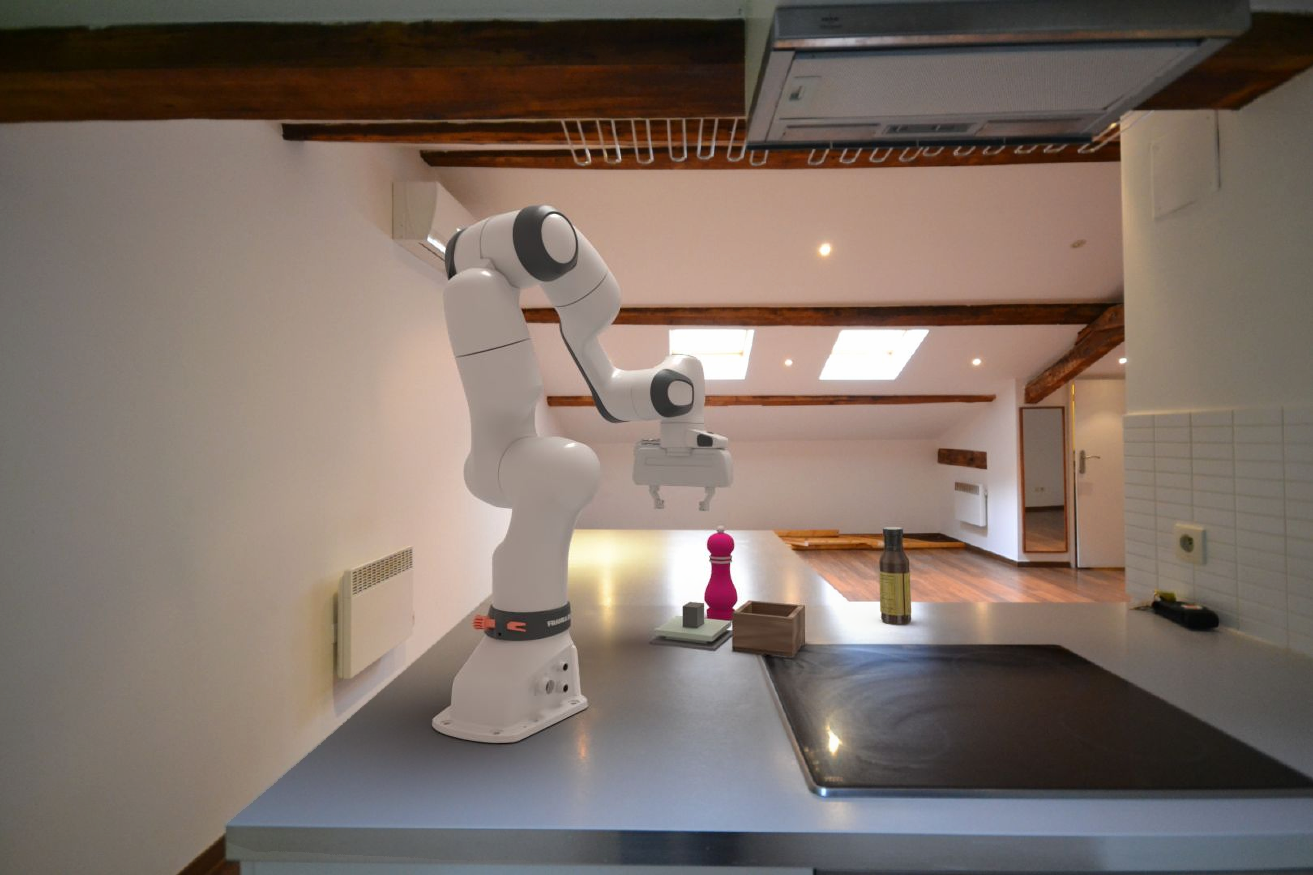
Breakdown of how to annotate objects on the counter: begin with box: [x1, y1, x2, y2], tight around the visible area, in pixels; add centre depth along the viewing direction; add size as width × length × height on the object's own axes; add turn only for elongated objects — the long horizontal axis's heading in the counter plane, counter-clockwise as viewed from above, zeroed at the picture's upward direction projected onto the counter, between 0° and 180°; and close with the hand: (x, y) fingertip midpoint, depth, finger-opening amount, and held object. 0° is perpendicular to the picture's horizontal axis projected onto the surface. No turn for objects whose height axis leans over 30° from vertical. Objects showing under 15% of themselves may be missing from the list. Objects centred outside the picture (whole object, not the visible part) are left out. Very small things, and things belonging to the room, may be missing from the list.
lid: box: [653, 601, 732, 643], centre depth 137 cm, size 12×12×6 cm
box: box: [731, 600, 806, 658], centre depth 131 cm, size 11×11×7 cm
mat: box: [649, 629, 732, 652], centre depth 137 cm, size 13×13×1 cm
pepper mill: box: [703, 525, 739, 622], centre depth 152 cm, size 7×7×20 cm
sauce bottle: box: [878, 526, 912, 626], centre depth 149 cm, size 6×6×20 cm
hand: (681, 509), depth 137 cm, fingers open, 8 cm apart
